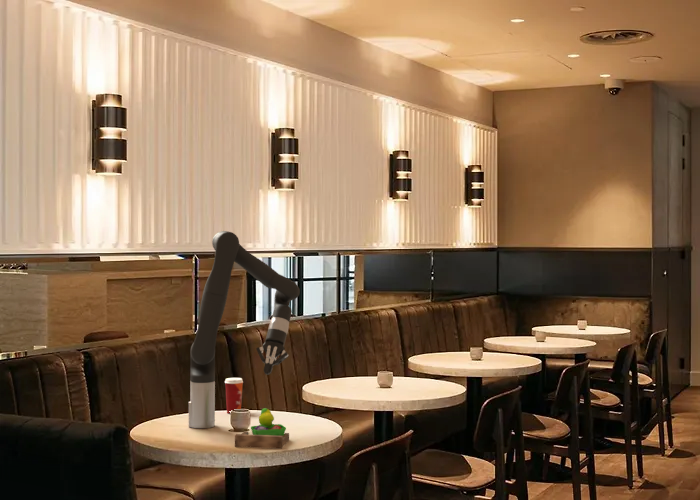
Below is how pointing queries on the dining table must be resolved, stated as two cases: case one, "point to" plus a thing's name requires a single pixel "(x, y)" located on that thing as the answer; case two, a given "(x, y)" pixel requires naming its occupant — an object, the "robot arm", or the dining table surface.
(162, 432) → the dining table surface
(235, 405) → the paper cup
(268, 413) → the fruit basket
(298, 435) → the dining table surface
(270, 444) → the frame
